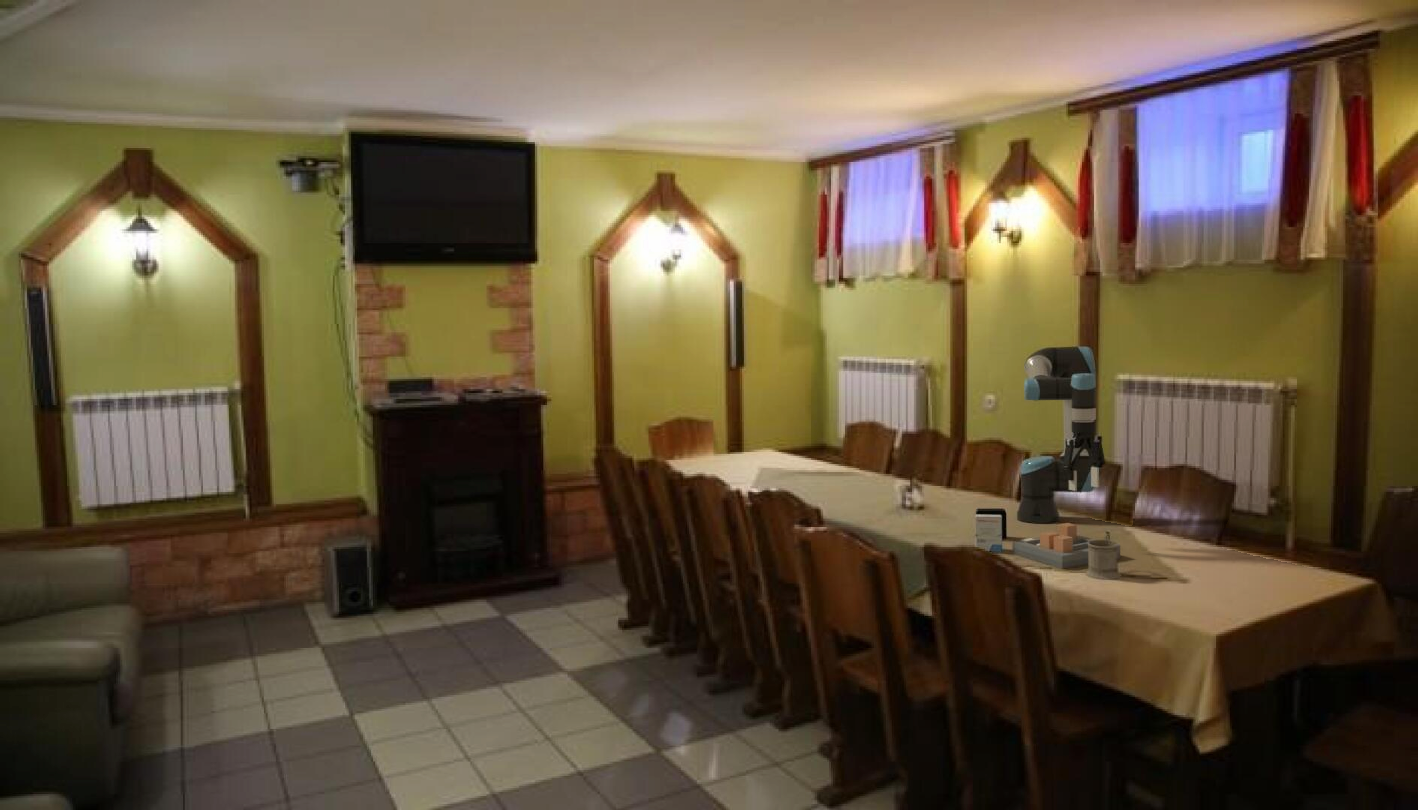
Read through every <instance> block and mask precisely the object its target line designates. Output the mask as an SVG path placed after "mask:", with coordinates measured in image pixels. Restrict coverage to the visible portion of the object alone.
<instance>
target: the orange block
mask: <svg viewBox="0 0 1418 810" xmlns="http://www.w3.org/2000/svg"><path fill="white" fill-rule="evenodd" d="M1054 551H1058V552H1062V553H1066V552H1072V551H1073V538H1072V537H1069V536H1065V535H1061V536H1055V537H1054Z"/></svg>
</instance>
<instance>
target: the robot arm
mask: <svg viewBox="0 0 1418 810" xmlns="http://www.w3.org/2000/svg"><path fill="white" fill-rule="evenodd" d="M1024 372H1025V374H1026V376H1028V378H1026V379H1024V382H1023V395H1024V399H1025V400H1027V401H1035V402H1037V401H1062V403H1063V406H1062V407H1063V452H1061V454H1060V455H1059V460H1055V458H1054V457H1053V456H1052V455H1048V456H1046V455H1041V456H1033V457H1030V458H1026V459H1024V460H1023V461H1022V462H1021V465H1020V466H1021V467H1020V468H1021V469H1020V470H1021V471H1020V476H1021V485H1020V486H1021V487H1020V488H1021V490H1020V491H1021V498H1020V503H1019V507H1018V509H1017V511H1016V520H1018V521H1019V522H1024V523H1030V524H1031V523H1032V524H1050V523H1055V522H1058V521H1060V513H1059V511H1058V506H1057V504H1056V501H1055V493H1080V494H1081V493H1091V492H1093V491H1094V489H1095V488H1099V487H1100V476H1101V468H1103V467H1104V466H1105V465H1106V460H1105V454H1104V449H1103V444H1102V442H1103V437H1102V435H1095V434H1096V432H1097V422H1096V421H1095V420H1097V411H1096V410H1097V405H1096V404H1097V403H1096V399H1097V398H1096V397H1097V396H1096V395H1097V388H1096V386H1097V381H1096V375H1097V374H1096V373H1097V371H1096V362H1095V357H1094V353H1093V350H1092V349H1091V348H1090V347H1089V346H1080V345H1078V346H1059V347H1045V348H1044V347H1043V348H1041V349H1039V350H1036V351H1034V352H1033V353H1032V354H1030V355H1029V356H1027V358H1026V360H1025V363H1024Z"/></svg>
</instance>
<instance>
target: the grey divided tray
mask: <svg viewBox="0 0 1418 810" xmlns="http://www.w3.org/2000/svg"><path fill="white" fill-rule="evenodd" d="M1092 540H1098V539H1096V538H1092V537H1088V536H1086V535H1081V534H1077V538H1074V539H1073V551H1072V552H1066V553H1062V552H1058V551H1054V548H1052V549H1047V548H1044V547H1040V536H1039V537H1034V538H1031V537H1030V538H1024V539H1020V540H1015V541H1012V545H1011V546H1012V547H1011V548H1012V555H1015V556H1019V557H1021V558H1025V559H1029V560H1031V561H1035V562H1039V563H1042V564H1045V565H1047V566H1052V567H1054V568H1058V569H1061V570H1064V569H1070V568H1074V567H1079V566H1085V565H1086V566H1087V565H1089V551H1088V542H1089V541H1092ZM1118 559H1121V545H1120V544H1119V546H1118Z"/></svg>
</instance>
